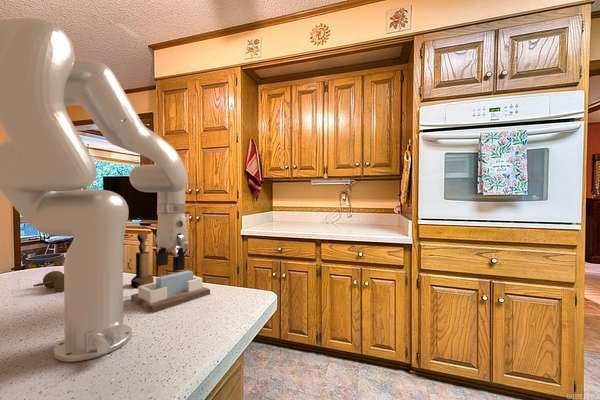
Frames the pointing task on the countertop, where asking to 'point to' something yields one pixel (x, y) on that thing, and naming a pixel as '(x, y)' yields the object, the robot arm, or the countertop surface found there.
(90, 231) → the robot arm
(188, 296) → the board
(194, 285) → the end caps
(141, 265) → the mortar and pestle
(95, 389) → the countertop surface
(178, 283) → the light blue rectangular block
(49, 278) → the kendama
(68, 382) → the countertop surface
